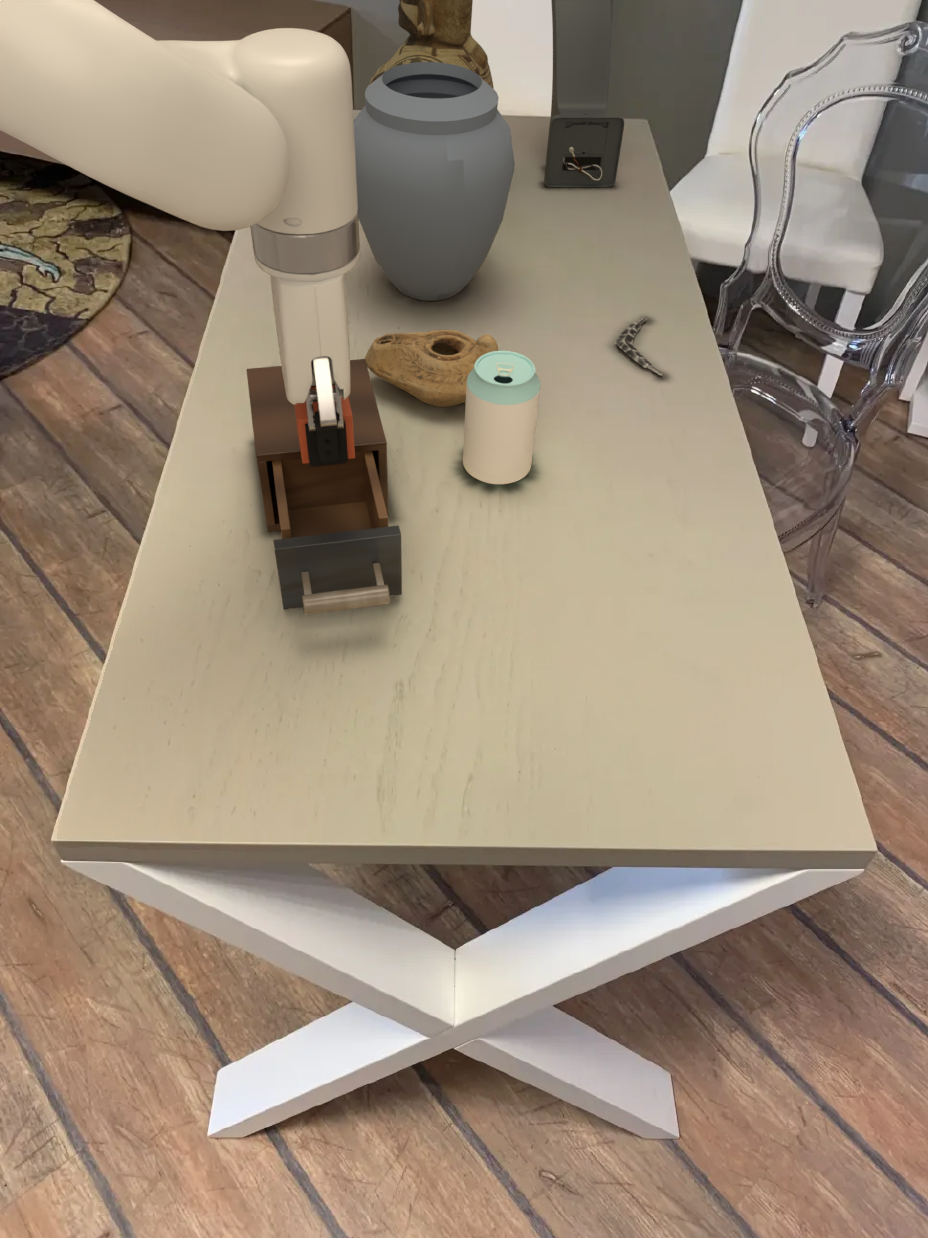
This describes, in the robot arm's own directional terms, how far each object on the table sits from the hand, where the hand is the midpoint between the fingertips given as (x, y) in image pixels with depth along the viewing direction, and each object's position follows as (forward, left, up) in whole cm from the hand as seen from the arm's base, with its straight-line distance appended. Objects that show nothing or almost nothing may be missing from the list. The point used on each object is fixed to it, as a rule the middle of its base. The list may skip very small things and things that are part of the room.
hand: (324, 441), depth 80 cm
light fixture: (+47, +79, -12) cm, 93 cm away
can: (+18, +8, -12) cm, 23 cm away
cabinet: (0, +9, -12) cm, 15 cm away
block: (0, 0, 0) cm, 0 cm away
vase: (+18, +45, -12) cm, 50 cm away
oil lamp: (+14, +22, -12) cm, 29 cm away
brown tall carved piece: (+24, +77, -12) cm, 82 cm away
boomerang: (+40, +28, -12) cm, 50 cm away
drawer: (0, -4, -11) cm, 12 cm away
